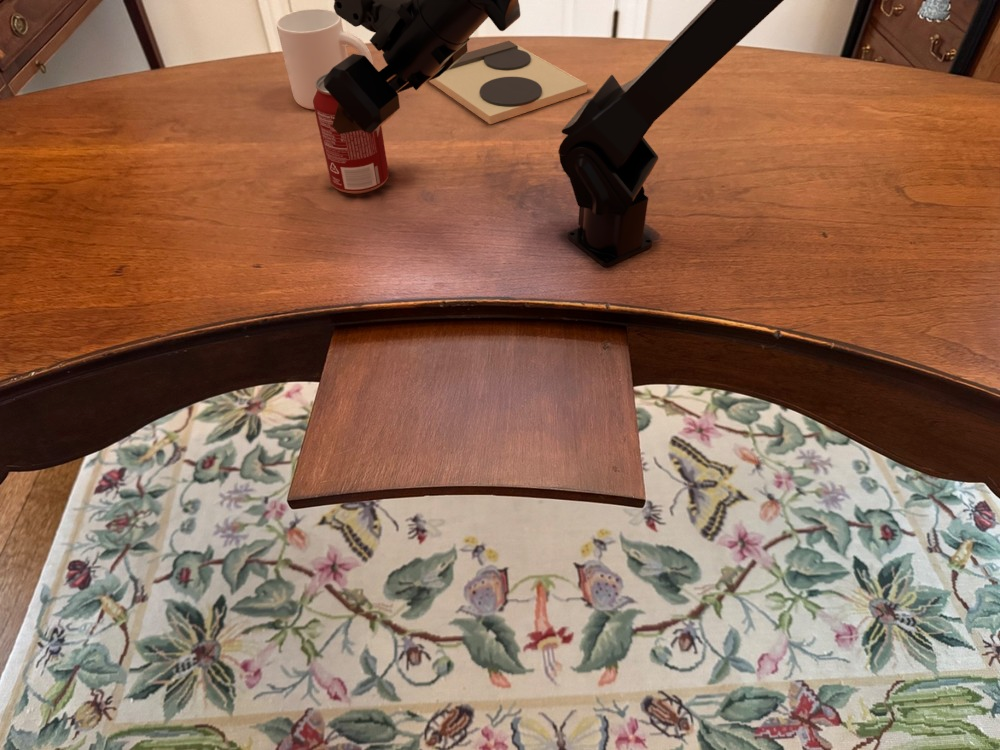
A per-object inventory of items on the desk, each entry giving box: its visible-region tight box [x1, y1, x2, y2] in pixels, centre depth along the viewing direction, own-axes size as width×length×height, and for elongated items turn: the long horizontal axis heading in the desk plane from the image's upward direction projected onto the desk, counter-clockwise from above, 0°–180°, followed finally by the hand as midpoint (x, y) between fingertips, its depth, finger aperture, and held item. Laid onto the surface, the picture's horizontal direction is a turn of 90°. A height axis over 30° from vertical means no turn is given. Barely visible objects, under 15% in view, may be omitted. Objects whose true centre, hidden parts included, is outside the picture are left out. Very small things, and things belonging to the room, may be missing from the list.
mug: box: [275, 8, 374, 111], centre depth 95 cm, size 12×8×10 cm
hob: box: [428, 40, 588, 125], centre depth 100 cm, size 18×16×2 cm
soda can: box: [313, 73, 390, 195], centre depth 79 cm, size 7×7×12 cm
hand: (360, 110), depth 76 cm, fingers open, 9 cm apart
